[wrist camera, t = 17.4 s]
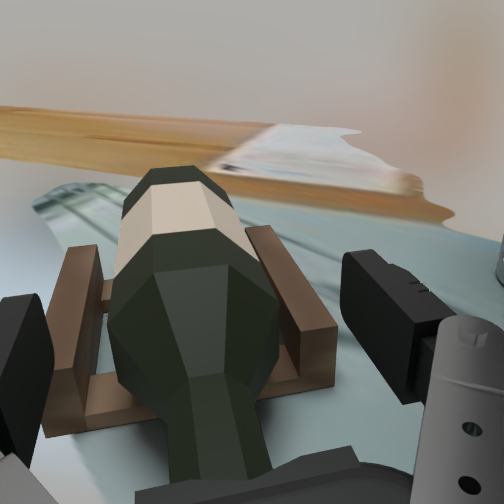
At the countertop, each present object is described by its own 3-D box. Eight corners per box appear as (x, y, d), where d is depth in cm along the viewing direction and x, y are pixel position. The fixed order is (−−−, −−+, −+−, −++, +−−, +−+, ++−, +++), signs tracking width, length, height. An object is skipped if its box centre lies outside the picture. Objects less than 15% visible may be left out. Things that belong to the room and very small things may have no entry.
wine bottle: (156, 279, 38) (178, 852, 11) (100, 194, 34) (-63, 761, 8) (246, 234, 38) (478, 705, 11) (201, 143, 34) (391, 538, 7)
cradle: (270, 270, 38) (269, 224, 36) (334, 385, 25) (337, 325, 24) (78, 295, 35) (68, 247, 33) (45, 438, 23) (25, 374, 21)
